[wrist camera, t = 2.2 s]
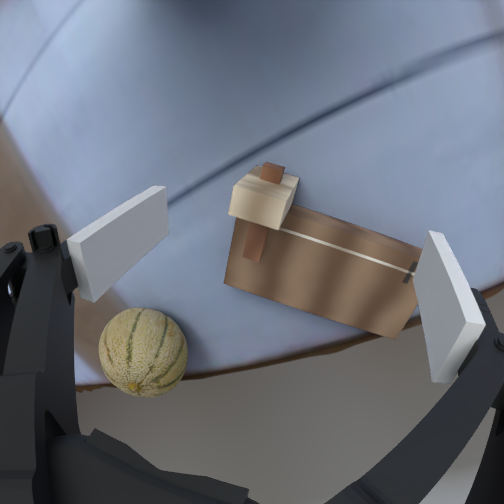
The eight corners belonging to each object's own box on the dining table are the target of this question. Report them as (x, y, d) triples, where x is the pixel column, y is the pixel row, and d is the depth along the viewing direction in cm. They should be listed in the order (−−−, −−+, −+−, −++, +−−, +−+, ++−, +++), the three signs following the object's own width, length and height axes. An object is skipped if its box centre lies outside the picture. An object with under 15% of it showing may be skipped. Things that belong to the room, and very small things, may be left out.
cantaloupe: (115, 298, 55) (65, 351, 43) (172, 282, 49) (118, 346, 36) (157, 357, 60) (119, 414, 48) (217, 352, 54) (181, 420, 41)
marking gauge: (241, 236, 41) (218, 269, 34) (259, 153, 35) (236, 170, 29) (279, 249, 40) (263, 284, 34) (302, 165, 35) (290, 185, 28)
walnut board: (231, 271, 45) (223, 283, 42) (248, 190, 38) (239, 199, 36) (394, 325, 41) (395, 340, 39) (434, 253, 35) (439, 266, 32)
